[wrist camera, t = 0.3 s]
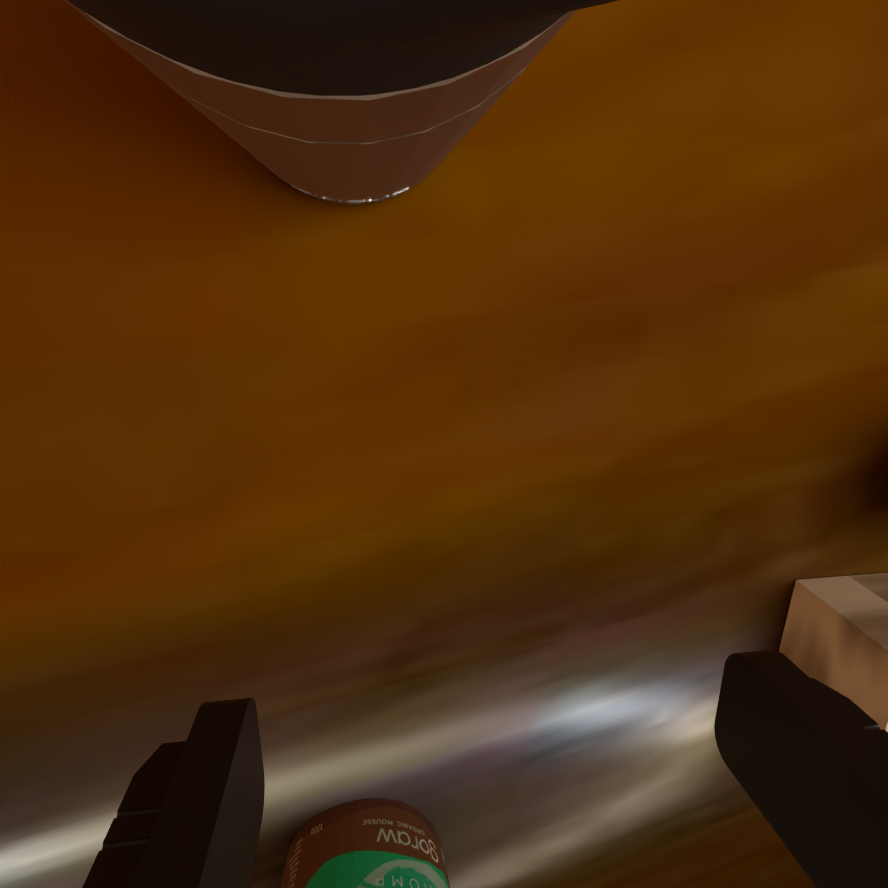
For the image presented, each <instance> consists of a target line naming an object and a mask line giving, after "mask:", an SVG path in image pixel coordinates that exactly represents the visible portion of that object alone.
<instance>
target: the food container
mask: <svg viewBox="0 0 888 888" xmlns="http://www.w3.org/2000/svg"><path fill="white" fill-rule="evenodd" d="M280 888H450V885H449V880H448V876H447V871H446V867H445V862H444V857H443V853H442V848H441V844H440V839H439V836H438V834H437V832H436V829H435V827H434V824H433V822H432V821H431V820H430V819H428V818H427V817H426V816H425V815H424V814H423V813H422V812H421V811H420V810H419V809H417V808H415V807H412V806H410V805H408V804H406V803H404V802H400V801H396V800H391V799H382V798H369V799H361V800H354V801H350V802H346V803H343V804H340V805H337V806H335V807H332V808H330V809H328V810H326V811H324V812H322V813H320V814H319V815H318V816H316V817H315V818H313V819H312V820H310V821H309V822H308V823H307V824H306V825H305V826H304V827H303V828H302V829H301V830H300V831H299V833H298V834H297V835H296V836H295V838H294V840H293V841H292V843H291V845H290V848H289V852H288V856H287V861H286V865H285V869H284V874H283V878H282V882H281V887H280Z"/></svg>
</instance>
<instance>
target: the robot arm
mask: <svg viewBox="0 0 888 888" xmlns="http://www.w3.org/2000/svg"><path fill="white" fill-rule="evenodd" d="M64 1H65V2H66V3H68V4H69V5H70V6H71V7H72V8H74V9H75V10H76V11H77V12H79V13H80V14H81V15H82V16H83V17H85V18H86V19H87V20H88V21H89V22H91V23H92V24H93V25H94V26H95V27H97V28H98V29H99V30H100V31H102V32H103V33H104V34H105V35H106V36H108V37H109V38H110V39H111V40H112V41H114V42H115V43H116V44H117V45H119V46H120V47H121V48H122V49H123V50H125V51H126V52H127V53H129V54H130V55H131V56H133V57H134V58H135V59H137V60H138V61H139V62H140V63H141V64H143V65H144V66H145V67H146V68H147V69H149V70H150V71H151V72H152V73H153V74H155V75H156V76H157V77H158V78H159V79H161V80H162V81H163V82H164V83H166V84H167V85H168V86H169V87H170V88H172V89H173V90H174V91H175V92H176V93H178V94H179V95H180V96H181V97H182V98H184V99H185V100H186V101H187V102H188V103H190V104H191V105H192V106H193V107H194V108H196V109H197V110H198V111H199V112H201V113H202V114H203V115H204V116H205V117H207V118H208V119H209V120H210V121H211V122H213V123H214V124H215V125H216V126H217V127H219V128H220V129H221V130H222V131H223V132H225V133H226V134H227V135H228V136H230V137H231V138H232V139H233V140H234V141H236V142H237V143H238V144H239V145H240V146H242V147H243V148H244V149H245V150H246V151H248V152H249V153H250V154H251V155H252V156H253V157H255V158H256V159H257V160H258V161H259V162H261V163H262V164H263V165H264V166H266V167H267V168H268V169H269V170H270V171H272V172H273V173H274V174H275V175H276V176H278V177H279V178H280V179H281V180H283V181H285V182H286V183H288V184H290V185H291V186H292V187H293V188H295V189H297V190H299V191H301V192H303V193H305V194H307V195H310V196H313V197H316V198H319V199H321V200H324V201H327V202H333V203H340V204H348V205H359V204H369V203H378V202H381V201H384V200H386V199H389V198H392V197H395V196H398V195H401V194H402V193H404V192H405V191H407V190H409V189H410V188H412V187H413V186H415V185H417V184H418V183H420V182H421V181H422V180H423V179H424V178H425V177H426V176H427V175H428V174H429V173H430V172H431V171H432V170H433V169H434V168H435V167H436V166H437V165H438V164H439V163H440V162H441V161H442V160H443V159H444V158H445V157H446V156H447V155H448V154H449V153H450V152H451V151H452V150H453V148H454V147H455V146H456V145H457V144H458V143H459V142H460V141H461V140H462V138H463V137H464V136H465V135H466V134H467V133H468V132H469V131H470V130H471V129H472V127H473V126H474V125H475V124H476V123H477V122H478V121H479V120H480V119H481V117H482V116H483V115H484V114H485V113H486V112H487V111H488V110H489V109H490V107H491V106H492V105H493V104H494V103H495V102H496V101H497V100H498V99H499V98H500V96H501V95H502V94H503V93H504V92H505V91H506V90H507V89H508V88H509V86H510V85H511V84H512V83H513V82H514V81H515V80H516V79H517V78H518V76H519V75H520V74H521V73H522V72H523V71H524V70H525V69H526V67H527V66H528V65H529V64H530V63H531V61H532V60H533V59H534V58H535V57H536V55H537V54H538V53H539V52H540V51H541V50H542V49H543V48H544V47H545V45H546V44H547V43H548V42H549V41H550V40H551V39H552V38H553V37H554V35H555V34H556V33H557V32H558V31H559V30H560V29H561V28H562V27H563V25H564V24H565V23H566V22H567V21H568V20H569V19H570V18H571V17H572V15H573V14H574V13H575V12H576V11H577V10H578V9H582V8H587V7H591V6H596V5H601V4H605V3H609V2H613V1H616V0H64ZM714 728H715V738H716V742H717V746H718V749H719V752H720V754H721V756H722V758H723V760H724V762H725V763H726V765H727V766H728V768H729V769H730V771H731V772H732V773H733V775H734V776H735V777H736V779H737V780H738V781H739V783H740V784H741V786H742V787H743V788H744V790H745V791H746V792H747V794H748V795H749V796H750V798H751V799H752V800H753V802H754V803H755V804H756V806H757V807H758V809H759V810H760V811H761V813H762V814H763V815H764V817H765V818H766V819H767V821H768V822H769V823H770V825H771V826H772V828H773V829H774V830H775V832H776V833H777V834H778V836H779V837H780V838H781V840H782V841H783V842H784V844H785V845H786V847H787V848H788V849H789V851H790V852H791V853H792V855H793V856H794V857H795V859H796V860H797V861H798V863H799V864H800V866H801V867H802V868H803V870H804V871H805V872H806V874H807V875H808V876H809V878H810V879H811V880H812V882H813V883H814V884H815V886H816V887H817V888H888V732H887V731H886V730H881V729H880V728H879V724H878V723H877V722H875V721H874V720H873V719H872V718H871V717H870V716H869V715H867V714H866V713H865V712H864V711H863V710H862V709H861V708H859V707H858V706H857V705H856V704H855V703H854V702H853V701H852V700H850V699H849V698H847V697H846V696H844V695H842V694H840V693H839V692H837V691H835V690H834V689H832V688H830V687H828V686H827V685H825V684H823V683H821V682H820V681H818V680H816V679H814V678H809V677H808V676H807V675H806V674H805V673H804V672H803V671H802V670H801V669H799V668H798V667H797V666H796V665H795V664H794V663H793V662H792V661H791V660H790V659H788V658H787V657H786V656H785V655H784V654H782V653H781V652H779V651H776V650H766V651H755V652H745V653H734V654H731V655H730V656H729V657H728V658H727V660H726V662H725V666H724V672H723V678H722V684H721V689H720V695H719V701H718V707H717V713H716V718H715V726H714ZM263 806H264V769H263V761H262V752H261V744H260V735H259V727H258V719H257V710H256V704H255V701H254V699H253V698H245V699H234V700H224V701H213V702H204V703H203V704H202V705H201V706H200V708H199V710H198V712H197V715H196V718H195V720H194V723H193V725H192V728H191V731H190V733H189V736H188V739H187V741H183V742H173V743H164V744H162V745H161V746H160V747H159V748H158V749H157V750H156V751H155V752H154V753H153V755H152V756H151V757H150V758H149V759H148V760H147V761H146V762H145V763H144V764H143V766H142V767H141V768H140V769H139V770H138V771H137V772H136V773H135V774H134V776H133V778H132V780H131V783H130V785H129V787H128V789H127V791H126V793H125V796H124V798H123V800H122V802H121V804H120V807H119V809H118V811H117V812H118V813H117V818H115V819H114V820H113V822H112V824H111V826H110V828H109V831H108V833H107V835H106V837H105V839H104V842H103V848H102V851H99V853H98V855H97V857H96V859H95V861H94V863H93V866H92V868H91V870H90V872H89V874H88V877H87V879H86V881H85V883H84V885H83V888H249V886H250V881H251V875H252V870H253V865H254V859H255V854H256V849H257V843H258V838H259V832H260V827H261V822H262V815H263Z"/></svg>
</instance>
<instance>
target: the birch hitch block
mask: <svg viewBox="0 0 888 888" xmlns="http://www.w3.org/2000/svg"><path fill="white" fill-rule="evenodd" d="M779 652H781V653H782V654H784V655H785V656H786V657H787V658H788V659H790V660H791V661H792V662H793V663H794V664H795V665H796V666H797V667H798V668H799V669H801V670H802V671H803V672H804V673H805V674H806V675H807V676H808V677H809V678H814V679H816V680H818V681H820V682H821V683H823V684H825V685H827V686H828V687H830V688H832V689H834V690H835V691H837V692H839V693H840V694H842V695H844V696H846V697H847V698H849V699H850V700H852V701H853V702H854V703H855V704H856V705H857V706H858V707H859V708H861V709H862V710H863V711H864V712H865V713H866V714H867V715H869V716H870V717H871V718H872V719H873V720H874V721H875V722H877V723H878V724H879V728H880V729H881V730H886V731H887V732H888V573H876V574H863V575H850V576H838V577H825V578H812V579H800V580H796V582H795V586H794V590H793V594H792V598H791V602H790V607H789V611H788V615H787V619H786V623H785V627H784V631H783V635H782V640H781V644H780V648H779Z"/></svg>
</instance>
